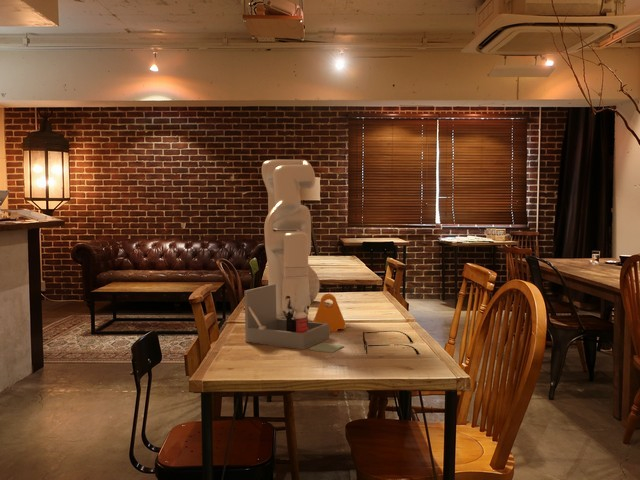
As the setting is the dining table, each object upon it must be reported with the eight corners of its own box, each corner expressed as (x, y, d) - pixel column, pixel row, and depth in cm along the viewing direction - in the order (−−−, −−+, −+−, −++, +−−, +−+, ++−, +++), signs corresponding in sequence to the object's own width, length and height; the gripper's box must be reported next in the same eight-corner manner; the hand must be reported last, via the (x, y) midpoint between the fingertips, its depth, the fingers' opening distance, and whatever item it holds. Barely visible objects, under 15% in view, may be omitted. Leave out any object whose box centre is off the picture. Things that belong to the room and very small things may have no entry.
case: (245, 342, 167) (244, 290, 166) (274, 331, 181) (273, 284, 180) (303, 349, 157) (302, 295, 156) (329, 337, 171) (328, 287, 170)
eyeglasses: (361, 342, 165) (361, 329, 165) (413, 342, 165) (412, 329, 165) (364, 357, 149) (364, 343, 149) (421, 357, 148) (421, 343, 148)
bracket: (344, 326, 187) (343, 292, 186) (345, 331, 180) (344, 295, 179) (313, 327, 187) (312, 292, 186) (313, 331, 180) (312, 296, 179)
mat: (309, 349, 156) (309, 348, 156) (321, 344, 163) (321, 342, 163) (332, 352, 153) (332, 351, 153) (344, 346, 159) (344, 345, 159)
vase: (302, 298, 245) (301, 262, 244) (325, 301, 238) (324, 263, 237) (284, 303, 235) (283, 265, 234) (308, 305, 228) (307, 266, 227)
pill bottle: (311, 341, 166) (310, 306, 166) (294, 344, 163) (293, 308, 162) (300, 337, 171) (300, 303, 171) (284, 340, 168) (283, 305, 167)
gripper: (300, 268, 175) (301, 323, 176) (270, 275, 160) (271, 334, 161) (320, 269, 172) (321, 325, 173) (291, 276, 157) (293, 337, 158)
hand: (297, 329), depth 167 cm, fingers closed on pill bottle, 6 cm apart
